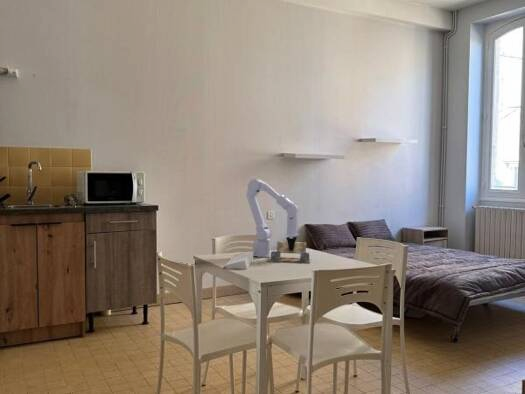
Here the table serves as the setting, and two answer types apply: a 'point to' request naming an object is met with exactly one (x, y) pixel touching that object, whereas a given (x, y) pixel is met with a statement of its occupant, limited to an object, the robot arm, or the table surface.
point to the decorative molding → (240, 261)
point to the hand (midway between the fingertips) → (291, 250)
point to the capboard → (276, 258)
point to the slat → (298, 248)
